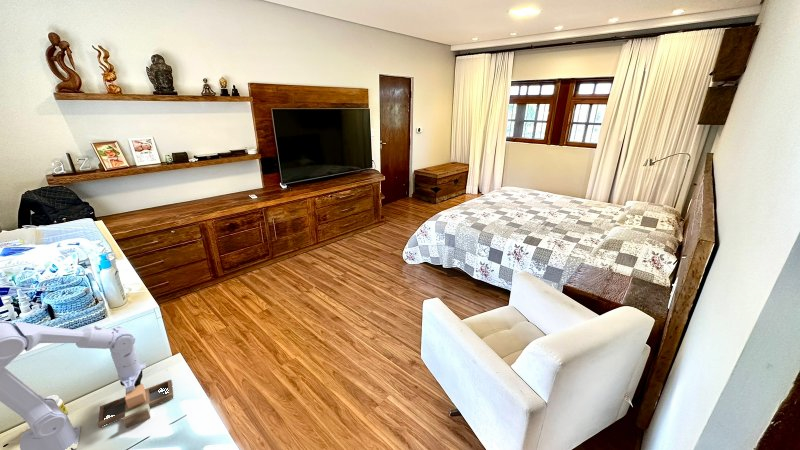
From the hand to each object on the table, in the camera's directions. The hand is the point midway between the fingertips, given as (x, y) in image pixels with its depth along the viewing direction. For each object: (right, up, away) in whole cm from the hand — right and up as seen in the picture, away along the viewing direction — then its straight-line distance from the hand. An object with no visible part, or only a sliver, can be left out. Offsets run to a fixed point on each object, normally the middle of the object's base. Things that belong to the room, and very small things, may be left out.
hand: (136, 389), depth 106 cm
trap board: (+3, -5, -3) cm, 7 cm away
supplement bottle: (-18, -5, -8) cm, 21 cm away
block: (+2, -2, -2) cm, 4 cm away
